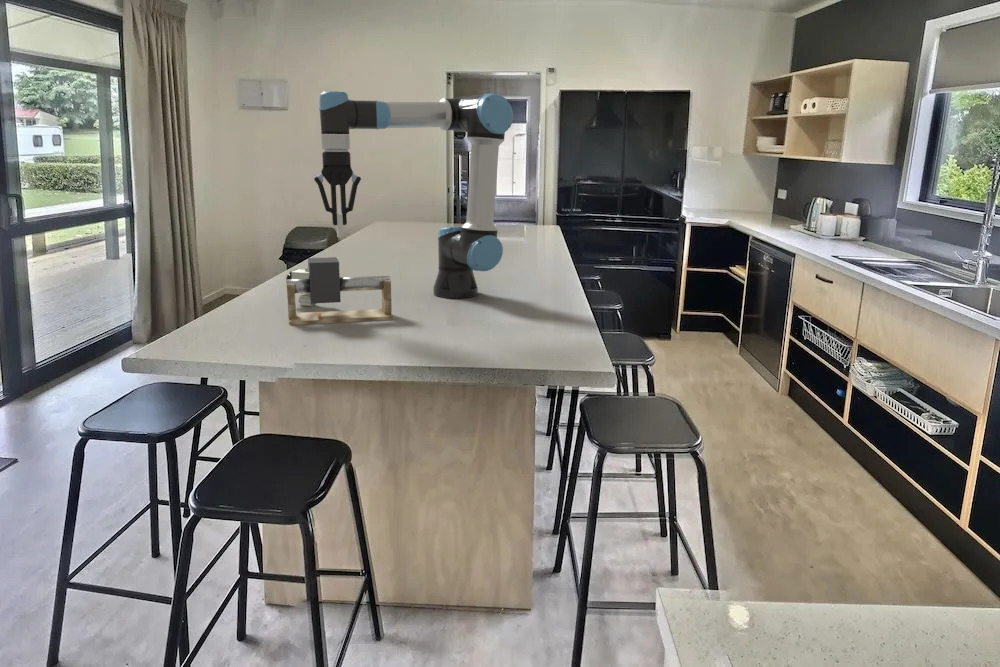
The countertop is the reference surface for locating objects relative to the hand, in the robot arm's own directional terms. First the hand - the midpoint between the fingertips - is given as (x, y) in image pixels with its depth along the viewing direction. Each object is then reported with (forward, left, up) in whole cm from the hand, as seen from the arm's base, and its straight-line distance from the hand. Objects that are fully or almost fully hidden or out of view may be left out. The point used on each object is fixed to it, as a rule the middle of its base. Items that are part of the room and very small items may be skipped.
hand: (340, 236), depth 202 cm
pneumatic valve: (+9, -19, -24) cm, 32 cm away
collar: (+5, 0, -18) cm, 19 cm away
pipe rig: (+1, 0, -24) cm, 24 cm away
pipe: (+1, 0, -16) cm, 16 cm away
